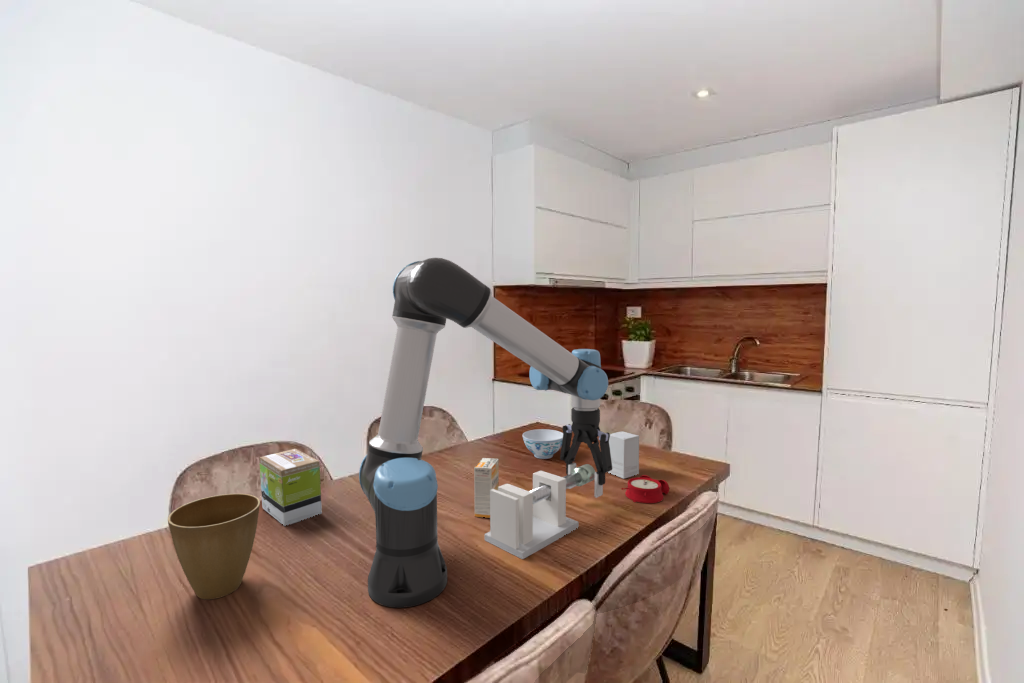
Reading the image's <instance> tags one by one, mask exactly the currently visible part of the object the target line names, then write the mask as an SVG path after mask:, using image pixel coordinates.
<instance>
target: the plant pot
mask: <svg viewBox="0 0 1024 683" xmlns="http://www.w3.org/2000/svg"><path fill="white" fill-rule="evenodd" d="M260 504H261V501H260V498H258V496H255V495H253V494H248V493H226V494H225V493H224V494H217V495H212V496H208V497H203V498H199V499H195V500H192V501H190V502H188V503H187V502H186V503H185V504H182V505H180V506H179V507H177V508H176V509H174V510H172V512H170V514H169V515H168V516H167V522H168V526H169V527H168V528H169V531H170V532H169V533H170V535H171V536H170V537H171V540H172V543H173V546H174V550H175V553H176V556H177V558H178V561H179V563H180V566H181V569H182V571H183V572H184V575H185V577H186V579H187V581H188V583H189V585H190V587H191V588H192V590H193V592H194V594H195V595H196V596H197V597H198V598H199V599H201V600H216V599H219V598H223V597H226V596H228V595H230V594H232V593H233V592H235V591H236V590H237V589H238V588H239V587H240V586H241V583H242V582H243V579H244V576H245V573H246V570H247V568H248V564H249V561H250V557H251V555H252V550H253V546H254V542H255V539H256V538H255V537H256V533H257V529H258V528H257V527H258V522H259V513H260Z"/></svg>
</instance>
